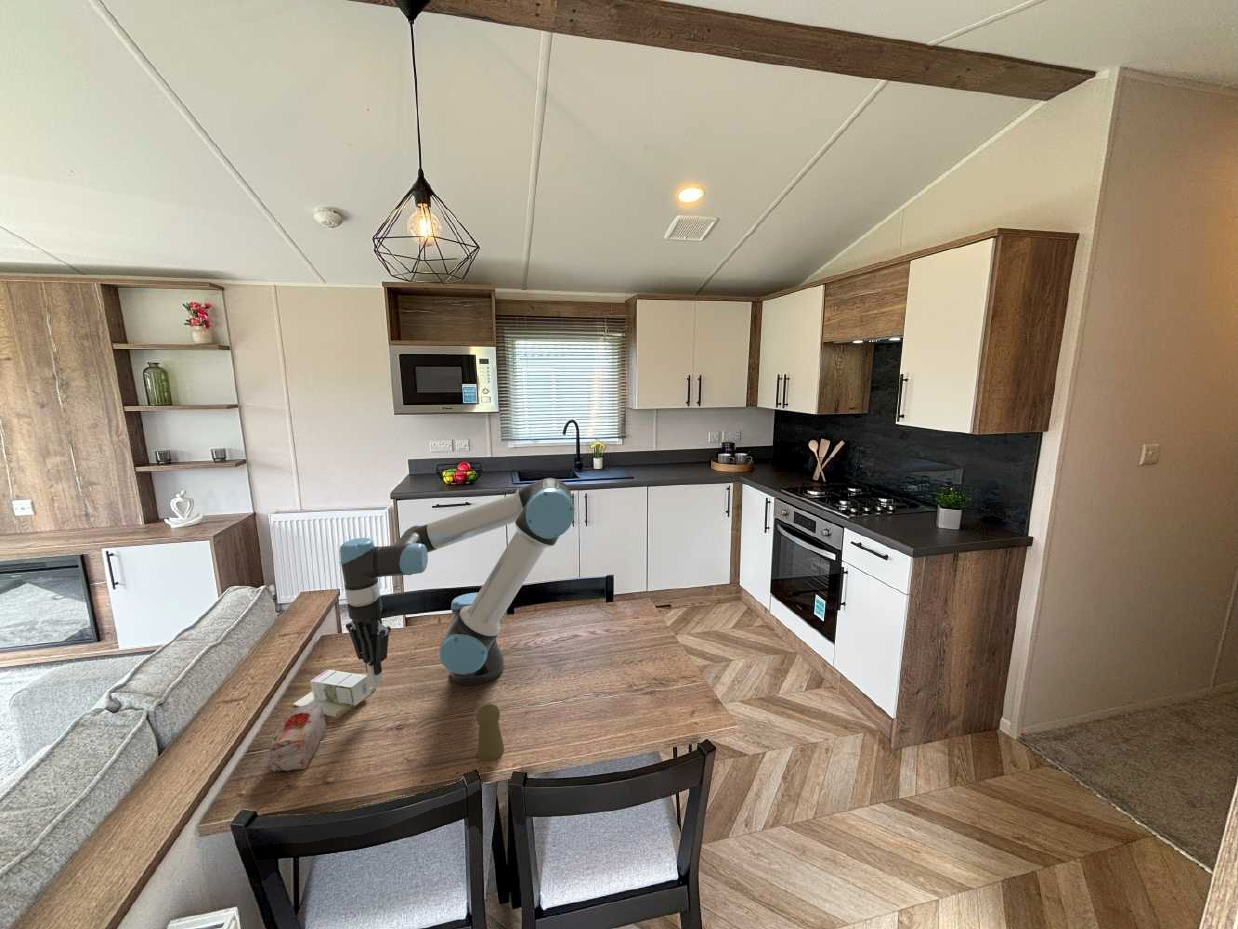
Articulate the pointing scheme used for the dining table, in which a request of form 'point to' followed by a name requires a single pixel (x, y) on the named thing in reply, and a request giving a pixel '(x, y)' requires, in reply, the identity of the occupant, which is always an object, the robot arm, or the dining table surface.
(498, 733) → the olive green shaker
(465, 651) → the robot arm
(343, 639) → the dining table surface
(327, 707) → the trivet
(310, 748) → the food item
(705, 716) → the dining table surface
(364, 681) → the syrup box
